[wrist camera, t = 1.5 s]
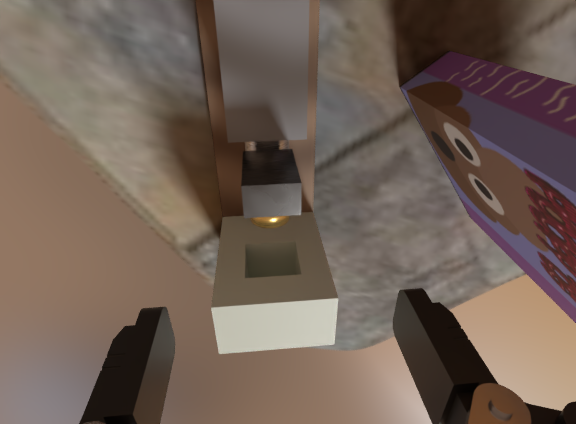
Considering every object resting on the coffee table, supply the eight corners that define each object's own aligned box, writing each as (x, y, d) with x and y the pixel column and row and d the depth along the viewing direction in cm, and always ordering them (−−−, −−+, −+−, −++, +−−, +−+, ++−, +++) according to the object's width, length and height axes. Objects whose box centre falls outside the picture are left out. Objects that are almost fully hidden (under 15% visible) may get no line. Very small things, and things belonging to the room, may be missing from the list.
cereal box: (399, 86, 31) (687, 260, 11) (449, 50, 30) (883, 168, 9) (470, 217, 39) (710, 458, 19) (511, 192, 38) (817, 422, 17)
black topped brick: (230, -34, 20) (220, -49, 13) (286, -34, 20) (304, -50, 14) (249, 208, 28) (248, 273, 22) (289, 206, 29) (300, 269, 22)
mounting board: (192, -36, 25) (161, -53, 16) (318, -36, 26) (353, -54, 17) (229, 262, 39) (223, 339, 30) (310, 256, 40) (327, 330, 31)
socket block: (222, 216, 35) (211, 307, 25) (313, 211, 36) (338, 298, 25) (227, 256, 38) (219, 354, 27) (311, 251, 38) (334, 344, 28)
